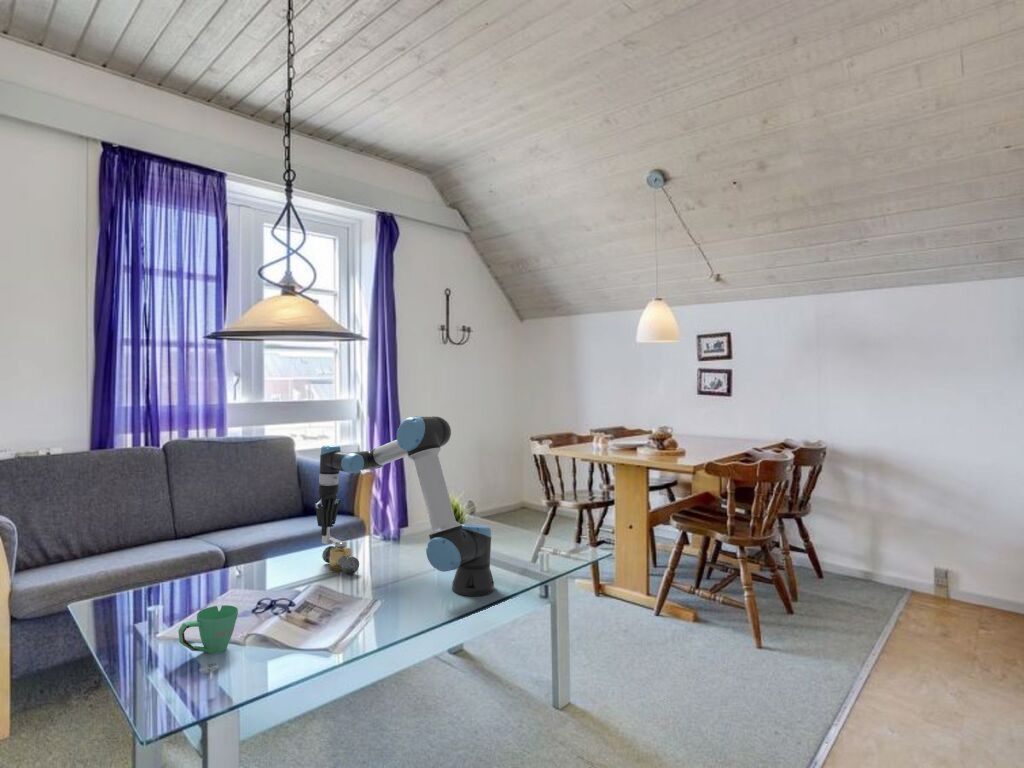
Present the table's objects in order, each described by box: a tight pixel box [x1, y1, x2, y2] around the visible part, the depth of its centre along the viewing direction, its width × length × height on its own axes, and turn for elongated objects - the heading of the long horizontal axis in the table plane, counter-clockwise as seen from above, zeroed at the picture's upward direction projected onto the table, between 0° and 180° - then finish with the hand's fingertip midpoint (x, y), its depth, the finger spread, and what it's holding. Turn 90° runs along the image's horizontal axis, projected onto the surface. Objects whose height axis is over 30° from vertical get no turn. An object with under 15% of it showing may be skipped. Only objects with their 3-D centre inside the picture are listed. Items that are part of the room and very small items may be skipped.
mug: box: [178, 604, 239, 655], centre depth 151 cm, size 15×10×10 cm
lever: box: [329, 535, 348, 548], centre depth 229 cm, size 15×4×2 cm, turn 43°
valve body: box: [321, 545, 360, 576], centre depth 225 cm, size 20×8×8 cm, turn 41°
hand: (325, 543), depth 230 cm, fingers closed
